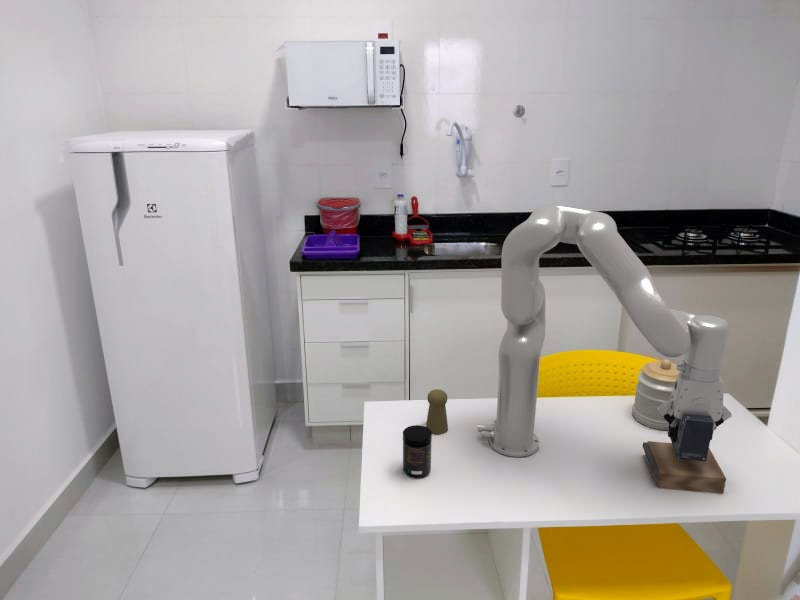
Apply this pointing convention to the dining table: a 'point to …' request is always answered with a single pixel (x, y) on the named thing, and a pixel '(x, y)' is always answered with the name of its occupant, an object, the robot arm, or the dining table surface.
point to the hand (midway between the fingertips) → (688, 440)
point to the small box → (693, 437)
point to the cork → (437, 412)
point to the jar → (654, 392)
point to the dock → (683, 470)
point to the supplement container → (417, 451)
